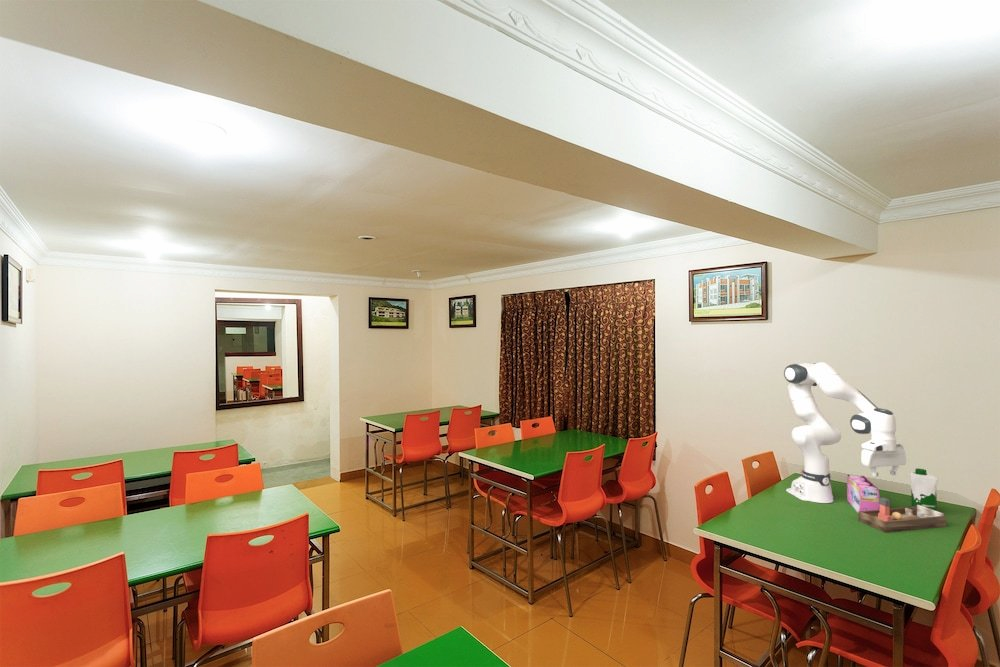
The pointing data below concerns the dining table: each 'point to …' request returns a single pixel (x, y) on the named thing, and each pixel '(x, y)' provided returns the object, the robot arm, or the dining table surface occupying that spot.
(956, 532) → the dining table surface
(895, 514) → the ball
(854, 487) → the gum box
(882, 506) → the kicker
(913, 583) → the dining table surface
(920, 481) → the milk carton
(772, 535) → the dining table surface
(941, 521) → the pitch
